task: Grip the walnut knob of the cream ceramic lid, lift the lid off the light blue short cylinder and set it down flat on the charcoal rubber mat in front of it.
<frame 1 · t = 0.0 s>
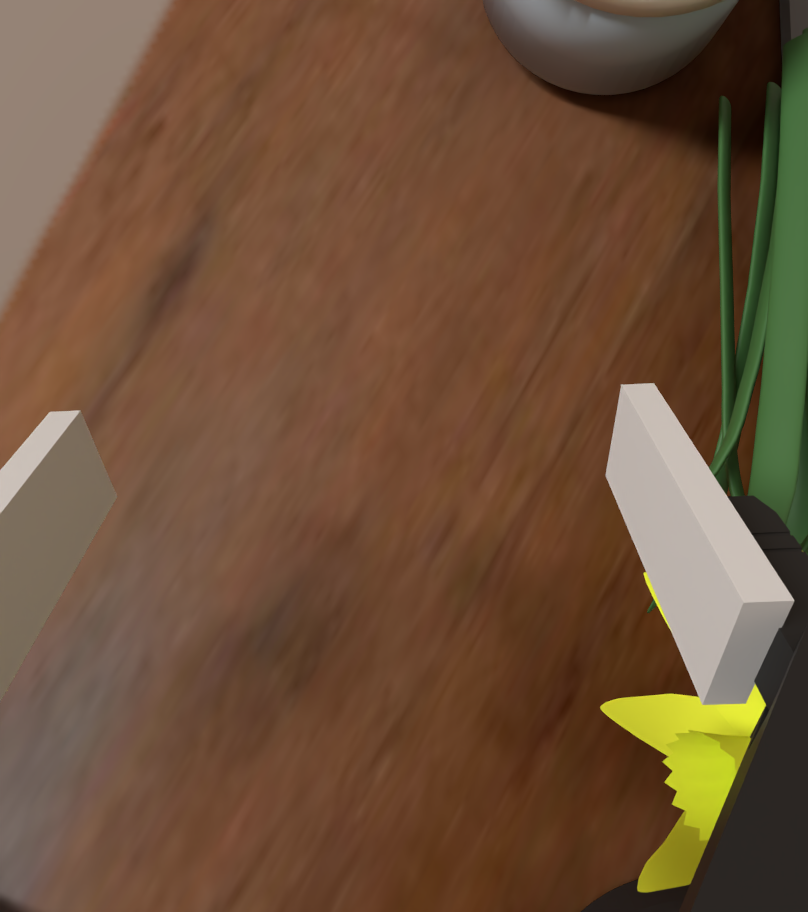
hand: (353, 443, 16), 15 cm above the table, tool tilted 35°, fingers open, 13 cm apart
daffodil flowers: (726, 407, 30), on the table, touching mat
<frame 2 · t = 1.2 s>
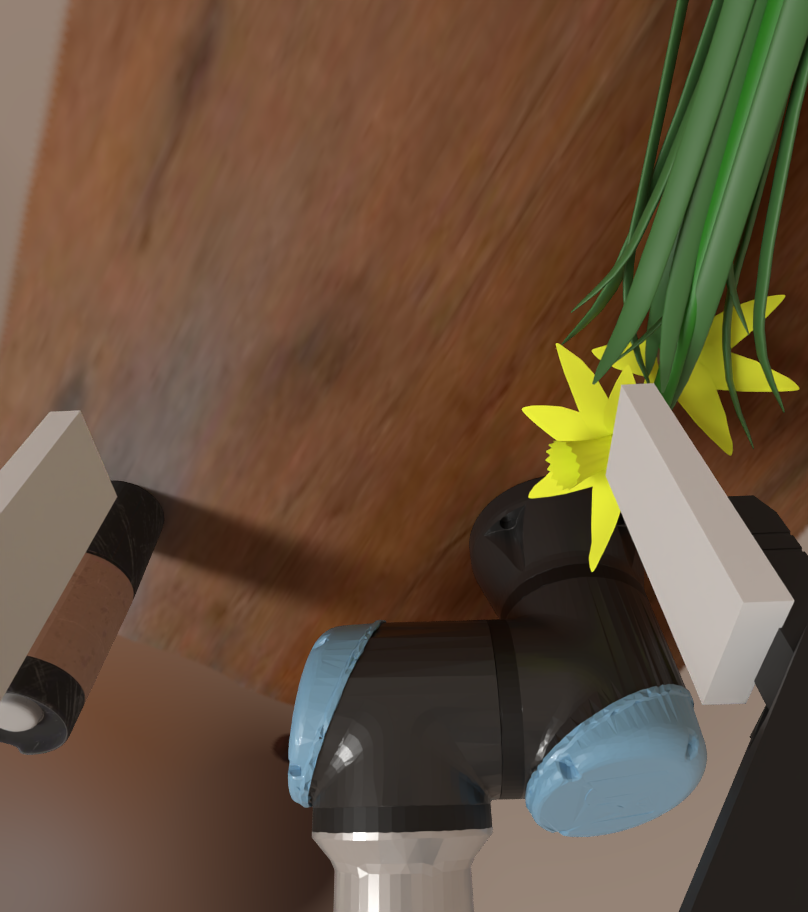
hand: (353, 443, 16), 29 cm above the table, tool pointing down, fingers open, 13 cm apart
travel mug: (124, 510, 55), on the table
daffodil flowers: (647, 187, 39), on the table, touching mat
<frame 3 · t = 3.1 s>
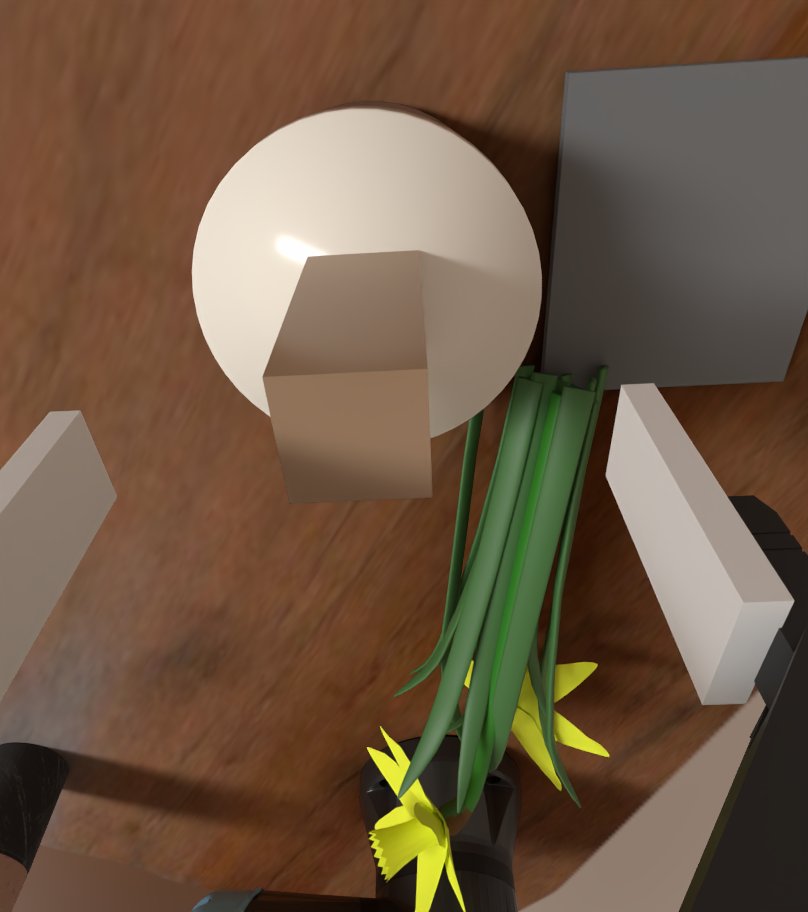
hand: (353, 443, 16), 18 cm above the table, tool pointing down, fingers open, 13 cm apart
travel mug: (30, 760, 58), on the table
mat: (685, 243, 30), on the table
light blue short cylinder: (375, 240, 30), on the table
lid: (369, 294, 24), point 7 cm above the table, touching light blue short cylinder
daffodil flowers: (475, 551, 42), on the table, touching mat
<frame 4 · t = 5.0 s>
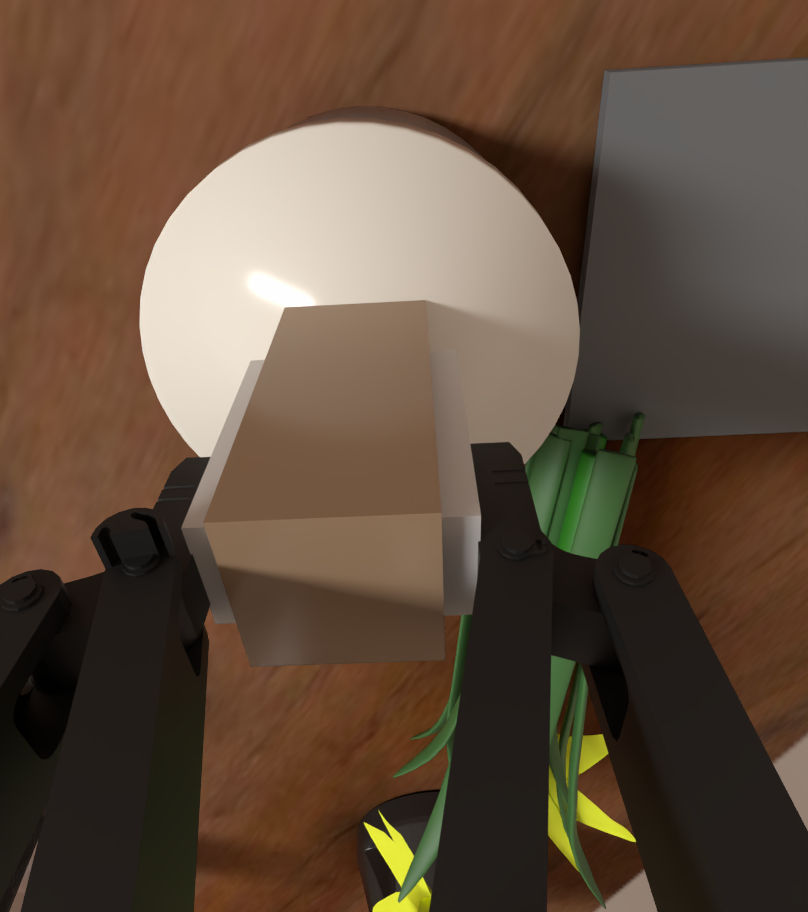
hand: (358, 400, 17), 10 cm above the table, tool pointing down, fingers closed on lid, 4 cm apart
travel mug: (2, 813, 54), on the table
mat: (739, 274, 26), on the table
light blue short cylinder: (372, 270, 25), on the table
lid: (363, 348, 20), point 7 cm above the table, touching light blue short cylinder, gripper
daffodil flowers: (486, 607, 38), on the table, touching mat
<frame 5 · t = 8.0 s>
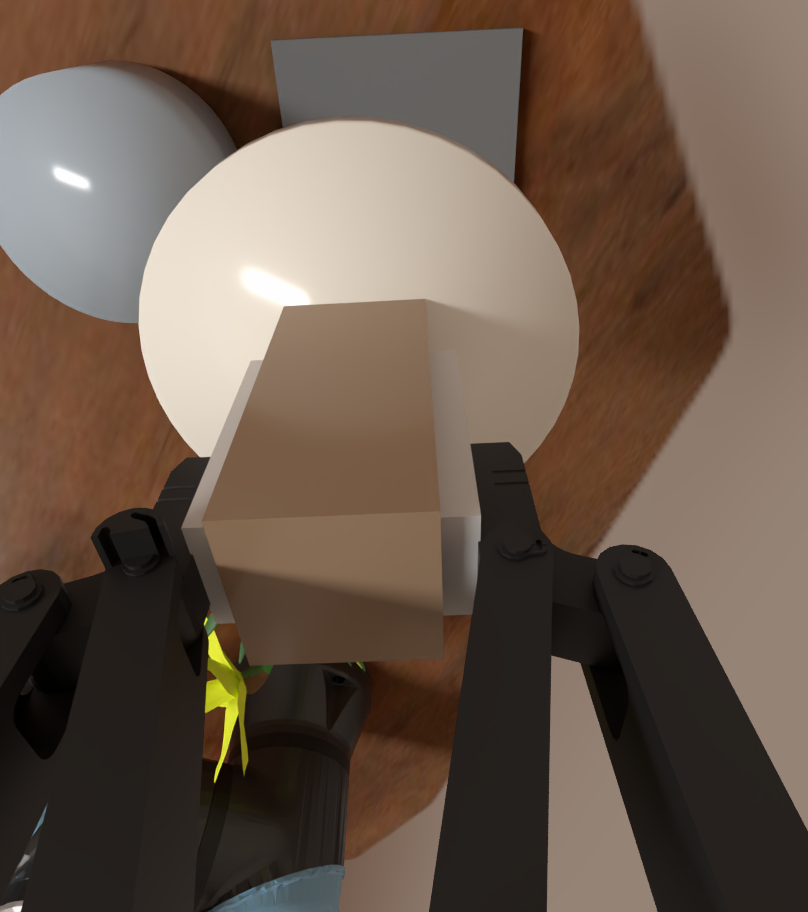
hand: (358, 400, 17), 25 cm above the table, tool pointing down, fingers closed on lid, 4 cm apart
mat: (402, 185, 37), on the table
light blue short cylinder: (148, 178, 37), on the table
lid: (362, 347, 20), point 22 cm above the table, touching gripper
daffodil flowers: (287, 460, 49), on the table, touching mat
when the fingers open (6 cm above the table, at t = 11.3 s): lid drops 2 cm, resting on mat.
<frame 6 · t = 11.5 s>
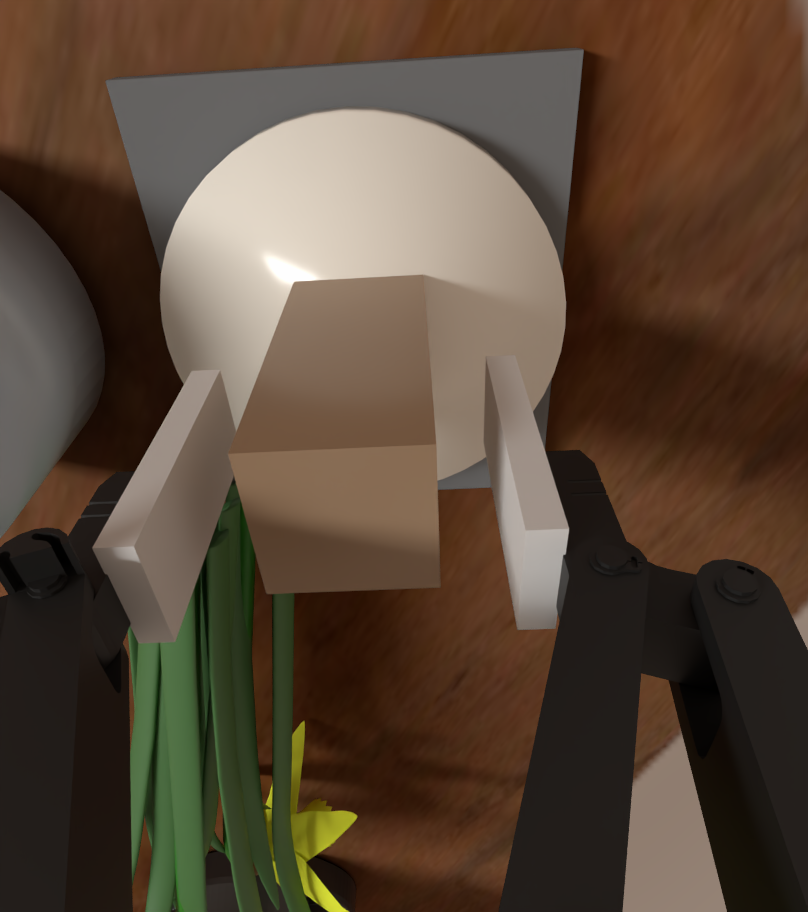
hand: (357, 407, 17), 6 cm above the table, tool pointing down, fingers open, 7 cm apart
mat: (367, 313, 22), on the table
lid: (366, 322, 21), point 1 cm above the table, touching mat
daffodil flowers: (218, 668, 34), on the table, touching mat
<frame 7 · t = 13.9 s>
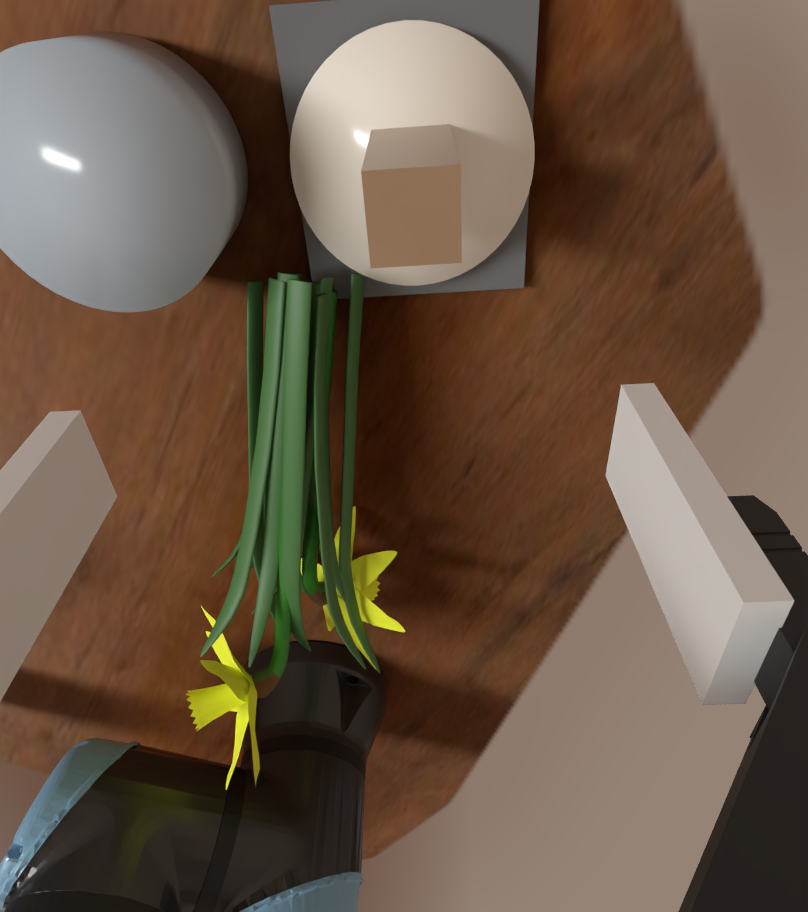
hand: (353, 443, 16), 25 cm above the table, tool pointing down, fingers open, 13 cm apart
mat: (412, 160, 35), on the table
light blue short cylinder: (143, 159, 35), on the table
lid: (411, 163, 34), point 1 cm above the table, touching mat
daffodil flowers: (295, 455, 47), on the table, touching mat
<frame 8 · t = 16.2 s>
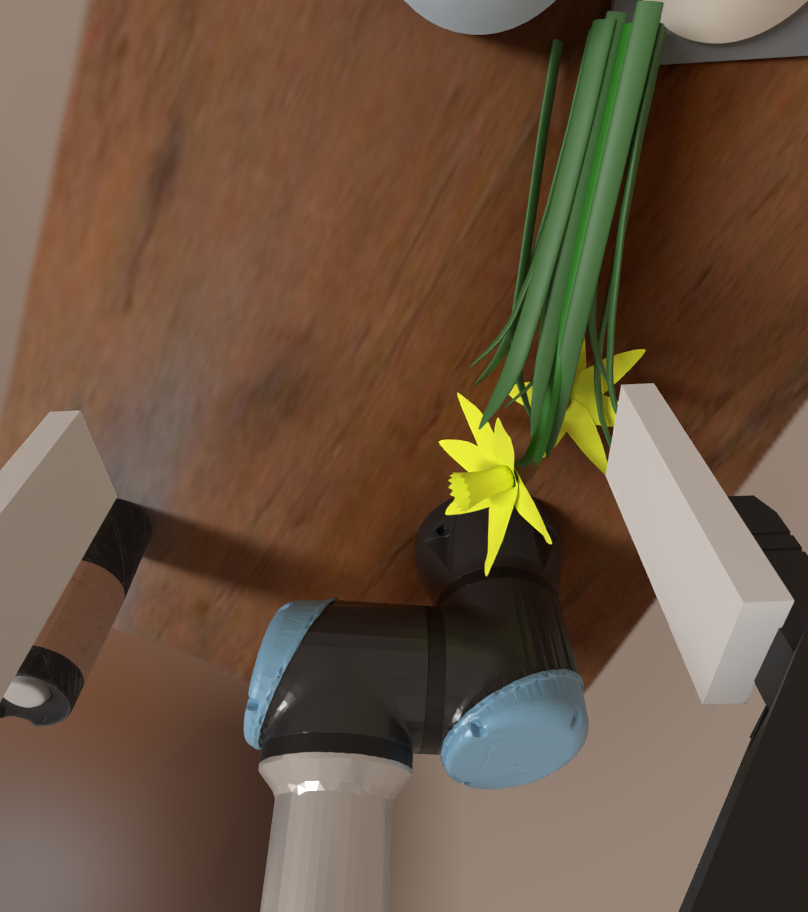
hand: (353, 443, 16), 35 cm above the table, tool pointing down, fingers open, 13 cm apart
travel mug: (117, 522, 64), on the table
daffodil flowers: (537, 260, 48), on the table, touching mat
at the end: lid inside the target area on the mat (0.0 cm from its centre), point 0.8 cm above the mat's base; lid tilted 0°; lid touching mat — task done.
